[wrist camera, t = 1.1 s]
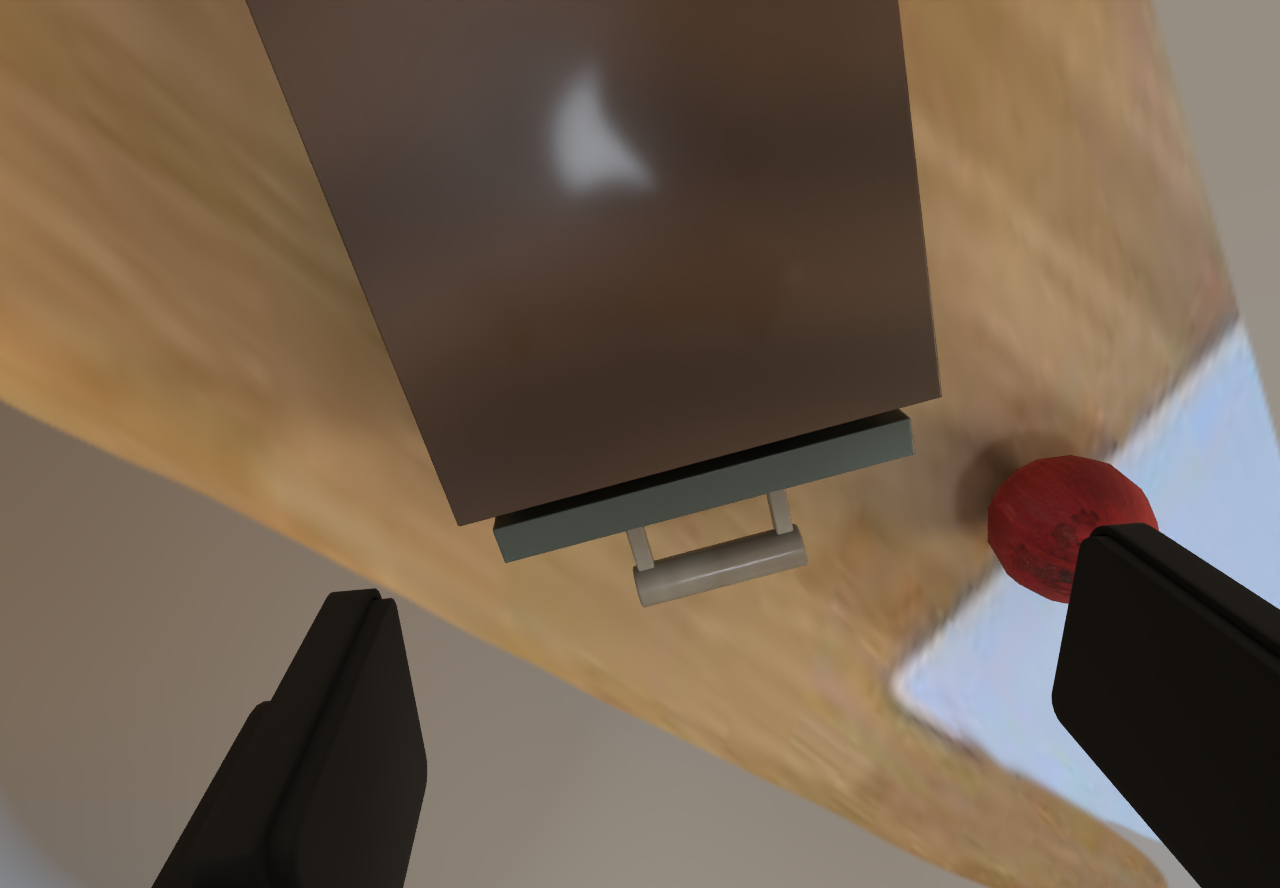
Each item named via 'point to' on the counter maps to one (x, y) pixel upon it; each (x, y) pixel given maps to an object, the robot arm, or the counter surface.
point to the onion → (1058, 518)
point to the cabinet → (618, 223)
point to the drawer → (708, 507)
